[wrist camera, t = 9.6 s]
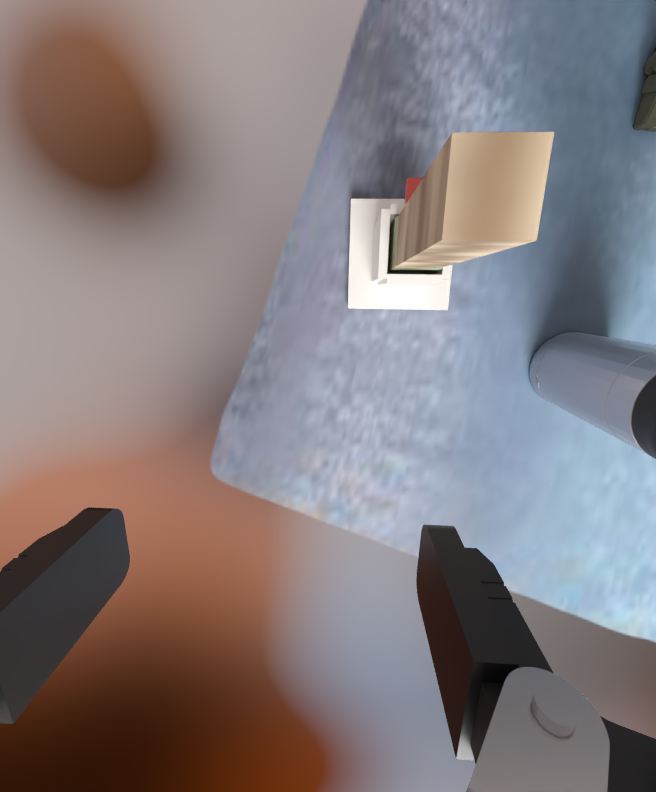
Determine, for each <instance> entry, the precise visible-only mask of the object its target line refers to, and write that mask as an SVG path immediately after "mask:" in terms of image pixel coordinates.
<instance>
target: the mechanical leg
mask: <svg viewBox="0 0 656 792" xmlns="http://www.w3.org/2000/svg"><path fill="white" fill-rule="evenodd" d="M644 73H646V74H647V75H649V76H648V78H647V79H646V81H645V83H644V86H643V89H642V92H641V94H643V96H642V99H641V103H640V106H639V110H638V113H637V116H636V120H635V123H634V129H635V130H639V129H641V130H645V131H655V132H656V48H655V51H654V53H653V54H652V56H651V57H650V58H649V59H648V60H647V61H646V65H645V69H644Z"/></svg>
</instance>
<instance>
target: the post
mask: <svg viewBox="0 0 656 792" xmlns="http://www.w3.org/2000/svg"><path fill="white" fill-rule="evenodd" d="M553 137H554V132H473V133H452V134H451V135H450V137H449V138H448V140H447V141H446V143H445V144H444V146H443V148H442V149H441V151H440V152H439V154H438V155H437V157H436V158H435V160H434V162H433V163H432V165H431V166H430V168H429V169H428V171H427V172H426V174H425V176H424V177H423V179H422V180H421V182H420V183H419V185H418V186H417V188H416V190H415V191H414V193H413V194H412V196H411V197H410V199H409V200H408V202H407V204H406V205H405V207H404V208H403V210H402V211H401V213H400V214H399V216H396V218H395V221H394V224H393V225H392V227H391V235H390V252H389V269H388V271H431V270H440V269H441V268H442V267H445V266H449V265H452V264H456V263H460V262H463V261H467V260H470V259H474V258H477V257H481V256H484V255H488V254H491V253H495V252H498V251H502V250H506V249H509V248H513V247H516V246H520V245H523V244H527V243H530V242H534V241H537V235H538V229H539V222H540V216H541V210H542V204H543V198H544V192H545V186H546V180H547V173H548V167H549V161H550V155H551V149H552V143H553Z"/></svg>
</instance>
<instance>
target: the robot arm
mask: <svg viewBox="0 0 656 792" xmlns="http://www.w3.org/2000/svg"><path fill="white" fill-rule="evenodd" d="M529 377H530V382H531V385H532V387H533V389H534V390H535V391H536V393H537V394H538V395H539V396H541V397H542V398H544V399H545V400H547V401H549V402H551V403H553V404H555V405H557V406H558V407H560V408H562V409H564V410H566V411H567V412H569V413H571V414H573V415H575V416H577V417H579V418H580V419H582V420H584V421H586V422H588V423H590V424H592V425H593V426H595V427H597V428H599V429H601V430H603V431H605V432H607V433H608V434H610V435H612V436H614V437H616V438H618V439H620V440H621V441H623V442H625V443H627V444H629V445H631V446H633V447H635V448H637V449H639V450H640V451H642V452H644V453H646V454H648V455H650V456H652V457H653V458H655V459H656V345H652V344H646V343H640V342H634V341H628V340H622V339H616V338H610V337H604V336H599V335H593V334H587V333H581V332H567V333H562V334H559V335H556V336H554V337H552V338H551V339H549V340H547V341H546V342H545V343H544V344H543V345H542V346H540V348H539V349H538V350H537V352H536V353H535V355H534V357H533V359H532V361H531V364H530V369H529ZM129 563H130V555H129V549H128V542H127V536H126V530H125V523H124V517H123V514H122V512H121V511H120V510H119V509H111V508H90V507H89V508H87V509H84V510H83V511H82V512H80V513H79V514H78V515H77V516H76V517H74V518H73V519H72V520H71V521H69V522H68V523H67V524H66V525H65V526H62V527H60V528H58V529H57V530H55V531H53V532H51V533H49V534H47V535H45V536H43V537H41V538H40V539H38V540H37V541H35V542H34V543H33V544H32V545H30V546H29V547H28V548H27V549H25V550H24V551H23V552H22V553H20V554H19V557H18V558H14V559H13V560H12V561H10V562H9V563H8V564H7V565H5V566H4V567H3V568H2V570H1V572H0V723H9V724H13V723H14V722H15V721H16V719H17V718H18V717H19V715H20V714H21V713H22V712H23V710H24V709H25V708H26V706H27V705H28V704H29V703H30V701H31V700H32V699H33V697H34V696H35V695H36V693H37V692H38V691H39V690H40V688H41V687H42V686H43V684H44V683H45V682H46V681H47V679H48V678H49V677H50V675H51V674H52V673H53V672H54V670H55V669H56V668H57V666H58V665H59V664H60V662H61V661H62V660H63V659H64V657H65V656H66V655H67V653H68V652H69V651H70V649H71V648H72V647H73V646H74V644H75V643H76V642H77V641H78V639H79V638H80V636H81V635H82V634H83V632H84V631H85V630H86V629H87V628H88V626H89V625H90V624H91V622H92V621H93V620H94V619H95V617H96V616H97V615H98V613H99V612H100V611H101V609H102V608H103V607H104V606H105V604H106V603H107V602H108V600H109V599H110V598H111V596H112V595H113V594H114V593H115V591H116V590H117V588H118V587H119V586H120V585H121V584H122V582H123V580H124V579H125V577H126V574H127V571H128V568H129ZM417 594H418V600H419V605H420V609H421V613H422V618H423V622H424V626H425V630H426V634H427V638H428V642H429V647H430V651H431V655H432V660H433V664H434V668H435V672H436V676H437V680H438V685H439V689H440V693H441V697H442V702H443V706H444V710H445V714H446V719H447V723H448V727H449V731H450V735H451V740H452V743H453V748H454V752H455V756H456V759H460V760H473V761H475V763H476V765H475V768H474V771H473V774H472V777H471V780H470V783H469V786H468V788H467V791H466V792H656V739H654V738H651V737H648V736H646V735H643V734H641V733H638V732H635V731H633V730H630V729H628V728H625V727H622V726H620V725H617V724H615V723H613V722H610V721H608V720H606V719H604V718H603V717H601V716H599V714H598V712H597V711H596V710H595V708H594V707H593V706H592V704H591V703H590V702H589V701H588V700H587V698H586V697H585V696H584V695H583V694H582V693H581V692H580V691H579V690H577V689H576V688H575V687H574V686H573V685H571V684H570V683H569V682H567V681H566V680H564V679H563V678H561V677H559V676H557V675H555V674H554V673H553V671H552V670H551V668H550V666H549V665H548V662H547V661H546V659H545V657H544V655H543V653H542V652H541V650H540V648H539V646H538V644H537V642H536V641H535V639H534V637H533V635H532V633H531V631H530V630H529V628H528V626H527V624H526V622H525V621H524V619H523V617H522V615H521V613H520V611H519V610H518V608H517V606H516V604H515V603H513V600H512V597H511V595H510V593H509V591H508V589H507V588H506V586H504V582H503V580H502V578H501V577H500V575H499V573H498V571H497V569H496V567H495V566H494V564H493V563H492V562H491V561H490V560H489V559H488V558H487V557H485V556H484V555H483V554H482V553H481V552H480V551H479V550H478V549H477V548H464V546H463V543H462V541H461V539H460V537H459V535H458V533H457V531H456V529H455V527H453V526H440V525H423V527H422V532H421V540H420V549H419V558H418V567H417Z"/></svg>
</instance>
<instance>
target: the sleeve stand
mask: <svg viewBox="0 0 656 792" xmlns="http://www.w3.org/2000/svg"><path fill="white" fill-rule="evenodd" d="M422 179H423V178H407V180H406V188H405V199H351V217H350V251H349V286H348V308H356V309H415V310H448V302H449V292H450V283H451V273H452V265H449V266H445V267H442V268H441V269H440V270H431V271H388V269H389V252H390V235H391V227H392V225H393V224H394V221H395V218H396V216H399V214H400V213H401V211H402V210H403V208H404V207H405V205H406V204H407V202H408V200H409V199H410V197H411V196H412V194H413V193H414V191H415V190H416V188H417V186H418V185H419V183H420V182H421V180H422Z"/></svg>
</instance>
